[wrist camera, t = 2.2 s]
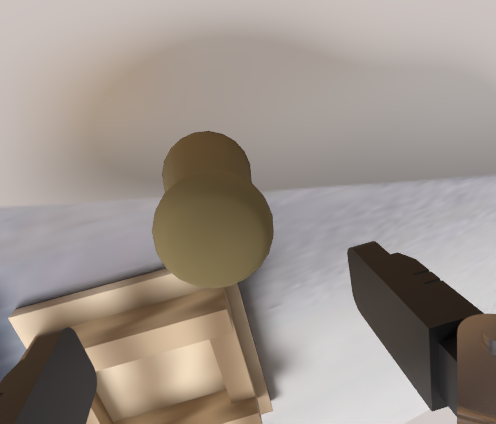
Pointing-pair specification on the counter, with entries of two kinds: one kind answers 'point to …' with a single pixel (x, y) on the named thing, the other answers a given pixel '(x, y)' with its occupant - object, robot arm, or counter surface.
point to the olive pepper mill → (211, 213)
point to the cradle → (160, 350)
